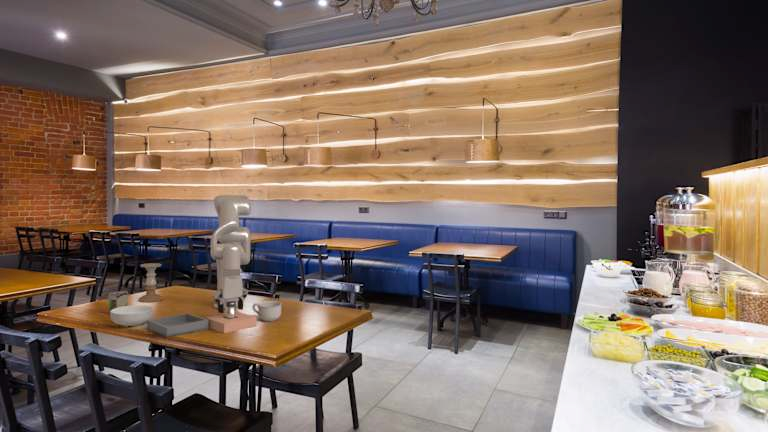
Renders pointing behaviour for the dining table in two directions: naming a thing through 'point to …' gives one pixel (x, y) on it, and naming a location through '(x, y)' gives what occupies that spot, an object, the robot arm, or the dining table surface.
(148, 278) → the candle holder
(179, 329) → the tray
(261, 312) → the teacup
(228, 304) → the pin
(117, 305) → the food container
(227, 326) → the hitch block
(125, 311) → the cereal bowl
